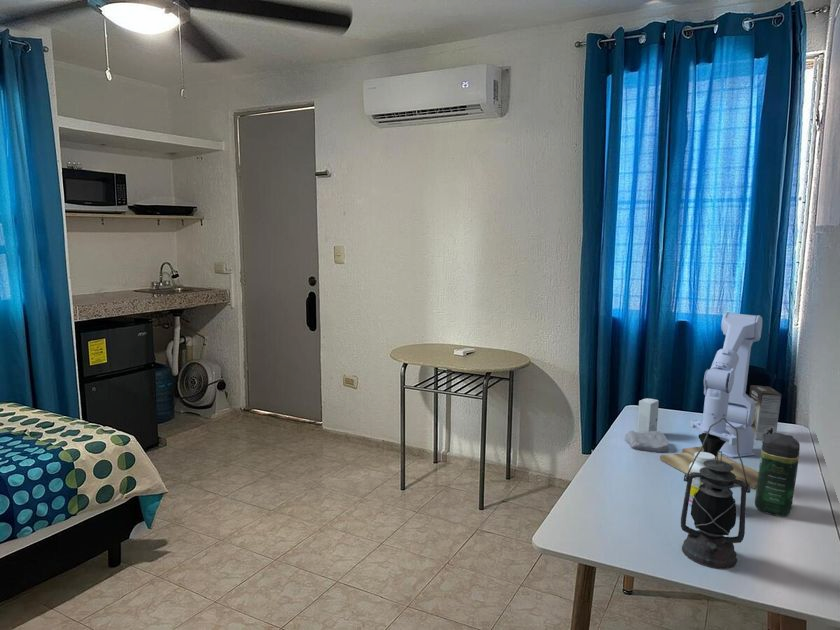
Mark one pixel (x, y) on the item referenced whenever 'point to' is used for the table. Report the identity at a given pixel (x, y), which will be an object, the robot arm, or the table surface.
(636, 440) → the stone block
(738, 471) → the laid floor row
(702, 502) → the lantern
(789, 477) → the coffee jar
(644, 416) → the skincare box
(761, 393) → the coffee box
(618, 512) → the table surface
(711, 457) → the supplement bottle
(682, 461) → the board
